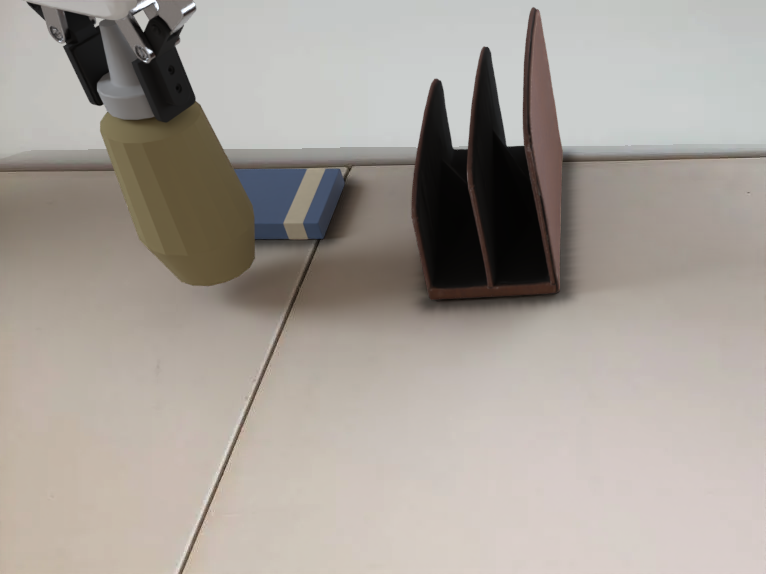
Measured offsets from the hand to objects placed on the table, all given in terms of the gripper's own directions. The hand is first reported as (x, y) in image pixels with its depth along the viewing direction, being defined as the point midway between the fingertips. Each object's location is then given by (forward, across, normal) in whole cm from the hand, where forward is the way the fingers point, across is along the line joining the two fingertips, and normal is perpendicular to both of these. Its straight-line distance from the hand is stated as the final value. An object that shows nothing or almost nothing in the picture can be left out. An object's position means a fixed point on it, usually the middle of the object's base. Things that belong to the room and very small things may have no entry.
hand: (143, 101), depth 70 cm
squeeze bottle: (+13, 0, 0) cm, 13 cm away
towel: (+15, -4, +10) cm, 18 cm away
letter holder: (+15, +15, +16) cm, 27 cm away
